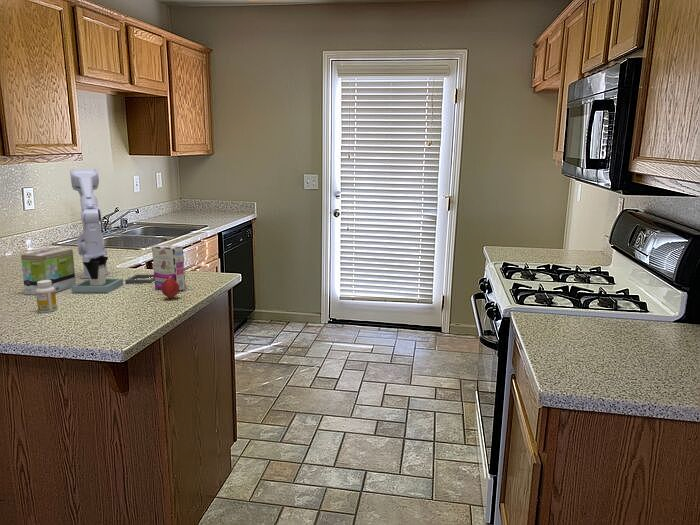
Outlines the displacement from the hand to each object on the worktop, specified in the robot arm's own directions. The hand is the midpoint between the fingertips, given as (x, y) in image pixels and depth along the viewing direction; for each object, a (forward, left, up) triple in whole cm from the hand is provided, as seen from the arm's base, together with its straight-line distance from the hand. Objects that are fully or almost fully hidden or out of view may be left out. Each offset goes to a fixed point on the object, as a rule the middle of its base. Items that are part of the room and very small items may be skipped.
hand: (97, 277), depth 203 cm
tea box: (+2, -17, -5) cm, 18 cm away
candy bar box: (+1, +28, -5) cm, 28 cm away
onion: (+14, +33, -5) cm, 35 cm away
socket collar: (-13, +12, -4) cm, 18 cm away
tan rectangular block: (0, 0, -2) cm, 2 cm away
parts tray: (0, 0, -4) cm, 4 cm away
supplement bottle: (+29, -2, -5) cm, 29 cm away
